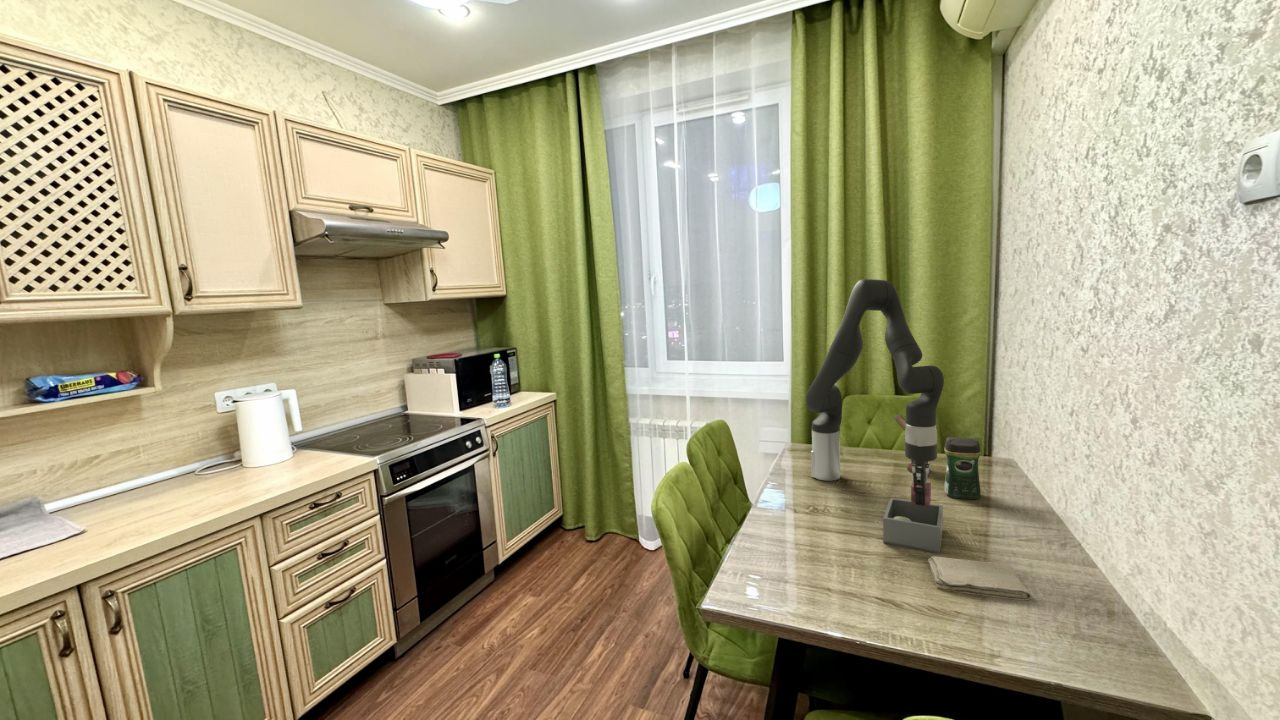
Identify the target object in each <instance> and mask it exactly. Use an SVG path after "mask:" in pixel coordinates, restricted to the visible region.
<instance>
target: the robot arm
mask: <svg viewBox="0 0 1280 720" xmlns="http://www.w3.org/2000/svg"><path fill="white" fill-rule="evenodd" d="M899 298H900V297H899V295H898V293H897V290H896V288H895V286H894V285H893V284H892V283H891V281H889V280H887V279H886V280H884V279H872V278H871V279H869V278H865V279H864V278H863V279H860V280H858V281H857V282H856V283H855V285H854V286H853V288H852V290H851V293H850V296H849V299H848V301H847V304H846V308H845V312H844V315H843V316H842V319H841V322H840V325H839V327H838V329H837V331H836V333H835V336H834V338H833V340H832V341H831V344H830V345H829V348H828V352H827V354H826V356H825V359H824V360H823V363H822V365H821V366H820V368H819V371H818V372H817V375H816V376H815V378H814V380H813V381H812V383H811V385H810V386H809V387H808V390H807V392H806V396H805V404H806V407H807V409H808V410H809V411H811V412H812V413H816V414H819V415H818V416H817V417H816V418H815V419H814V420H813V421H812V422H811V438H812V439H811V446H812V450H810V473H811V476H810V477H811V478H814V479H817V480H820V481H825V482H826V481H827V482H831V481H837V480H839V479H840V478H841V450H840V449H841V448H840V445H841V443H840V441H841V439H840V426H841V424H842V419H843V416H842V415H843V414H842V413H843V396H842V392H841V390H840V388H839V387H838V385H836V383H837V382H838V381H840V380H841V379H842V378H843V377H844V376H845V375H846V374H847V373H848V372H850V371H851V370H852V368H853V367H854V365H856V364H857V361H858V359H859V357H860V355H861V353H862V351H863V348H864V341H863V336H862V333H861V325H860V324H861V322H862V318H863V316H864V315H865V313H866V312H867V311H877V312H879V311H880V312H881V313H882V315H883V316H884V317H885V319H886V321H887V322H886V327H885V333H884V334H885V335H884V340H885V341H884V342H885V344H886V347H887V349H888V351H889V353H890V355H891V357H892V358H893V361H894V364H895V365H894V366H895V370H896V377H897V383H898V387H899V388H900V389H901V390H902V391H903V392H904V393H906V394H908V395H916V394H920V395H919V397H918V398H917V399H915V400H912V401H910V402H908V403H907V404H906V405H905V406H906V407H905V420H906V428H905V431H904V435H905V437H904V455H905V457H906V458H908V459H909V460H911V459H912V460H914V461H915V462H913V465H912V471H913V473H912V481H913V482H914V488H913V490H914V492H915V504H916V505H921V506H924V505H925V491H926V490H925V484H927V483H929V480H928V479H929V478H930V477H929V476H930V473H929V469H930V466H931V464H930V463H929V462H933V461H935V460H936V459H937V458H938V430H937V408H938V405H939V402H940V399H941V396H942V393H943V390H944V386H945V377H944V374H943V372H942V370H941V369H940V368H939V367H938V366H936V365H923V366H922V365H921V366H920V365H919V366H914V365H916V364H918V363H920V361H921V360H922V359H923V351H922V350H921V348H920V345H919V344H918V343H917V341H916V339H915V337H914V336H913V334H912V332H911V330H910V327H909V325H908V323H907V321H906V317H905V315H904V311H903V307H902V305H901V302H900V299H899ZM930 470H931V469H930ZM917 485H919V486H922V488H921V487H917Z"/></svg>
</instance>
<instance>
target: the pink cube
mask: <svg viewBox="0 0 1280 720" xmlns="http://www.w3.org/2000/svg"><path fill="white" fill-rule="evenodd" d="M911 481H912V482H911V485H910V501H911V504H914V505H916V504H915V492H914V490H913V488H914V482H913V480H911ZM917 487H921V488H922V486H919V485H917ZM925 490H926V491H925V505H924V506H928V507H930V504H932V503H931V502H932V482H928V483H927V484H925Z"/></svg>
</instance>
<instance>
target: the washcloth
mask: <svg viewBox="0 0 1280 720" xmlns="http://www.w3.org/2000/svg"><path fill="white" fill-rule="evenodd" d="M927 562H928V563H929V564H930V565H929V566H930V567H929V568H930V572H931V574H932V576H933V580H934V583H935V586H936V588H938V589H941V590H944V591H948V592H955V593H962V594H969V595H976V596H983V597H984V596H986V597H994V598H1004V599H1011V600H1016V601H1017V600H1018V601H1029V600H1031V599H1032V598H1033V596H1032V593H1031V592H1030V590H1029V589H1028V588H1027V586H1025V585H1024V583H1022V581H1021V578H1020V577H1019V575H1018V573H1017V572H1016V570H1015V568H1014V567H1012V566H1011V565H1010V564H1009V565H1008V564H1003V563H997V562H996V563H994V562H987V561H980V560H971V559H970V560H969V559H963V558H955V557H954V558H951V557H944V556H930V558H928V559H927Z"/></svg>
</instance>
